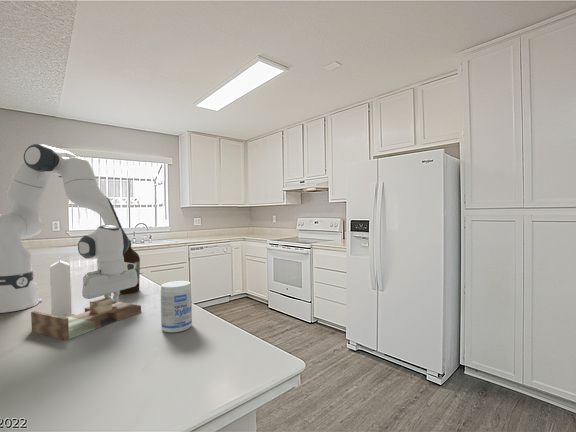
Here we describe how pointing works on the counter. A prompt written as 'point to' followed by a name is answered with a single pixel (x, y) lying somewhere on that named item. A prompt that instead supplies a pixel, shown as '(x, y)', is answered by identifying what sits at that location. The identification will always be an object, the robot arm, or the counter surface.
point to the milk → (60, 288)
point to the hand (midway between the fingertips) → (112, 303)
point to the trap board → (79, 321)
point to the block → (100, 305)
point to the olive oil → (133, 257)
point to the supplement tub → (176, 306)
